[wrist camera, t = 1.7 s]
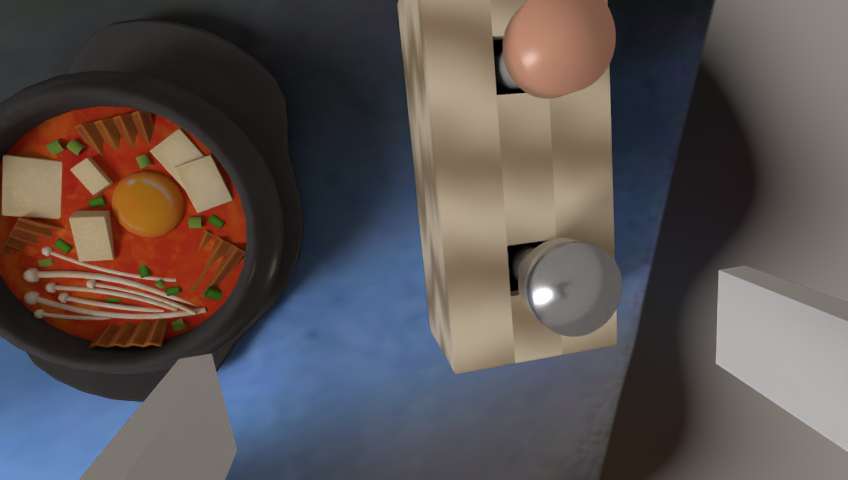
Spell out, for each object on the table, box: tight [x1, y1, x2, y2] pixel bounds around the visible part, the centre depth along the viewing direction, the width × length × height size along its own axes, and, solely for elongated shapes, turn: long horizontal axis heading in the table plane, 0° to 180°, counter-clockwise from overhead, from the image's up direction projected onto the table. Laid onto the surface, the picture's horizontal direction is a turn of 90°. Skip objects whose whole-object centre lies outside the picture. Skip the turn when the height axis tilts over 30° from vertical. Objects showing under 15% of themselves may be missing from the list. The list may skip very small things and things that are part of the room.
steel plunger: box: [507, 238, 622, 337], centre depth 28 cm, size 5×5×10 cm
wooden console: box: [397, 0, 617, 374], centre depth 31 cm, size 24×11×8 cm, turn 6°
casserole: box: [0, 19, 303, 402], centre depth 28 cm, size 25×19×8 cm
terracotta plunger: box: [494, 0, 616, 99], centre depth 26 cm, size 5×5×10 cm
